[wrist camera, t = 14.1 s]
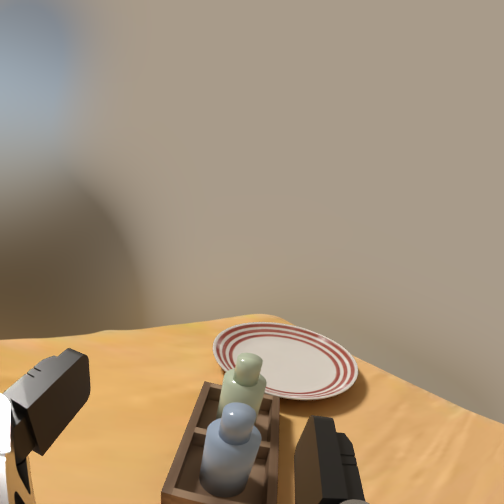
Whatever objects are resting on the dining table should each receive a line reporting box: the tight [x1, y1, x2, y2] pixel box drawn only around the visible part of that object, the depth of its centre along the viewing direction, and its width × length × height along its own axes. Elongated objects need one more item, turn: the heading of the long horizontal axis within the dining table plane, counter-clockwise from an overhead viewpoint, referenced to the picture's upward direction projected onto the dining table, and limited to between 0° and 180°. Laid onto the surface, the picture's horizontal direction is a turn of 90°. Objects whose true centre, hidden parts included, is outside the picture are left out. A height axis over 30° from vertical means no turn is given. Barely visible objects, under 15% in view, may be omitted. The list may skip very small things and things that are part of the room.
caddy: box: [161, 382, 280, 504], centre depth 33 cm, size 11×21×3 cm, turn 175°
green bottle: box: [216, 353, 267, 426], centre depth 37 cm, size 5×5×11 cm
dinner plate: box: [213, 322, 358, 400], centre depth 57 cm, size 28×27×3 cm
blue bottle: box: [199, 402, 261, 498], centre depth 27 cm, size 5×5×11 cm
